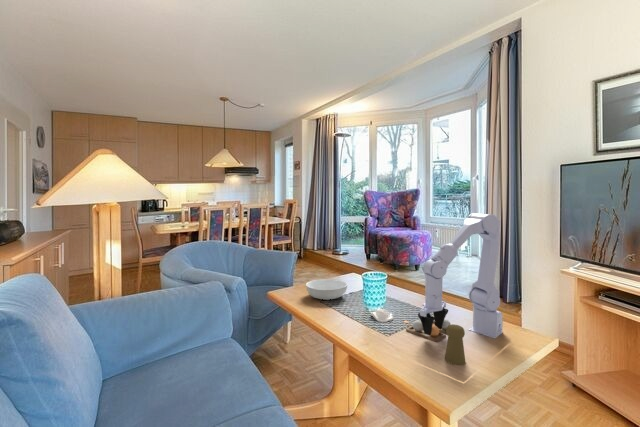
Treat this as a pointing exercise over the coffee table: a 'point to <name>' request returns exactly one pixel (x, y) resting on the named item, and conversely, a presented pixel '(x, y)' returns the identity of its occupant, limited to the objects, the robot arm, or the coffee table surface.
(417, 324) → the grey ball
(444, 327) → the grey ball
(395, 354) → the coffee table surface
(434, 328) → the ball terracotta
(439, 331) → the trough
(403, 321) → the card
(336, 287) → the serving bowl
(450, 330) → the olive knobbed tapered post
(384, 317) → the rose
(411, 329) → the trough
